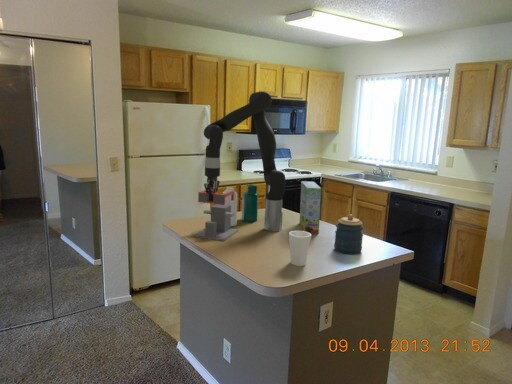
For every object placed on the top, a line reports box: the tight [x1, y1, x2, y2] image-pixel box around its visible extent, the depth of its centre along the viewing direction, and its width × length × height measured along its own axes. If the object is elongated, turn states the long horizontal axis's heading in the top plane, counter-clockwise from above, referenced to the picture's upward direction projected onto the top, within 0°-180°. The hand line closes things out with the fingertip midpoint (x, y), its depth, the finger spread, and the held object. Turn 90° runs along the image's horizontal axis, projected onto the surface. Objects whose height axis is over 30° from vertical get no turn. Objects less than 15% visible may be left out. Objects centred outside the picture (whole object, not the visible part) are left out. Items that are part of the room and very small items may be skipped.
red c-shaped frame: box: [197, 190, 235, 205], centre depth 195 cm, size 14×14×5 cm
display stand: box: [193, 204, 240, 242], centre depth 198 cm, size 19×17×14 cm
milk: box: [222, 186, 238, 227], centre depth 216 cm, size 6×6×22 cm
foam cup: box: [288, 230, 312, 267], centre depth 162 cm, size 10×9×13 cm
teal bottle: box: [241, 183, 259, 223], centre depth 228 cm, size 10×8×22 cm
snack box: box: [299, 180, 322, 235], centre depth 215 cm, size 22×9×26 cm, turn 2°
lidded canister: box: [333, 214, 365, 255], centre depth 181 cm, size 13×13×18 cm
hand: (211, 201), depth 190 cm, fingers closed on red c-shaped frame, 1 cm apart
